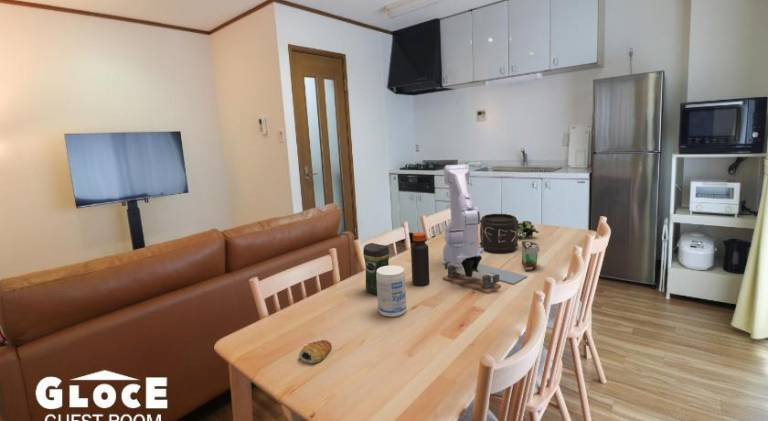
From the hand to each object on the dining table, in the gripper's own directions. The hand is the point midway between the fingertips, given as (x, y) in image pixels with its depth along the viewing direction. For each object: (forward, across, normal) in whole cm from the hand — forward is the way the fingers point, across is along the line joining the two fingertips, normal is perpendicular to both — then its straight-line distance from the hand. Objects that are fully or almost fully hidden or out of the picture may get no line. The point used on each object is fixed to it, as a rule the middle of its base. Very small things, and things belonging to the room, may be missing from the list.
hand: (470, 275), depth 149 cm
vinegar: (+4, -12, +15) cm, 20 cm away
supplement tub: (+4, -36, +6) cm, 37 cm away
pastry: (+4, -68, +3) cm, 69 cm away
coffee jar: (+4, -28, +22) cm, 36 cm away
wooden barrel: (+4, +44, +15) cm, 47 cm away
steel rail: (0, 0, 0) cm, 0 cm away
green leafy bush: (+4, +67, +14) cm, 69 cm away
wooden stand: (+3, 0, 0) cm, 3 cm away
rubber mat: (+3, +14, 0) cm, 14 cm away
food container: (+4, +30, -9) cm, 32 cm away
